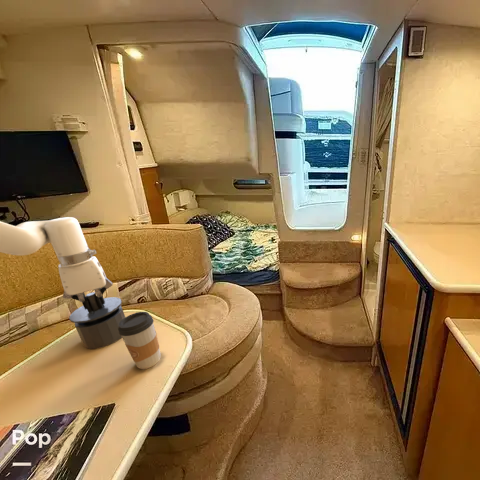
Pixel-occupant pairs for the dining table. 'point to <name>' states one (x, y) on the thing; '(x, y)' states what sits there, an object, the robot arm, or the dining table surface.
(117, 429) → the dining table surface
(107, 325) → the pot
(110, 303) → the lid
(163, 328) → the dining table surface
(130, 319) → the coffee cup
